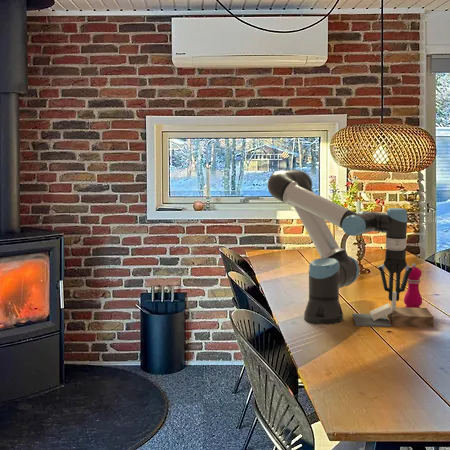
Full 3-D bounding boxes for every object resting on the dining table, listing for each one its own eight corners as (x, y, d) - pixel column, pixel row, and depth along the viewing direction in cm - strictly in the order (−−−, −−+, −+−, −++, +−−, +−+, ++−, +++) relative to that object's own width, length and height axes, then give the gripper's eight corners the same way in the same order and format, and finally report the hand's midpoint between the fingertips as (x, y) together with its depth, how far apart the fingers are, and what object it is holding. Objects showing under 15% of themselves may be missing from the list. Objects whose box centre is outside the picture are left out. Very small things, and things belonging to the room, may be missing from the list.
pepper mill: (424, 313, 242) (425, 265, 240) (406, 313, 242) (407, 265, 240) (418, 309, 249) (420, 261, 247) (401, 309, 250) (402, 261, 247)
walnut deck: (392, 326, 225) (392, 315, 225) (387, 316, 238) (387, 307, 238) (433, 327, 223) (433, 316, 223) (426, 317, 236) (426, 307, 236)
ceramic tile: (373, 320, 230) (371, 315, 229) (371, 317, 235) (369, 311, 235) (393, 312, 228) (390, 306, 228) (390, 308, 234) (388, 303, 234)
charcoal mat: (355, 326, 226) (355, 323, 226) (352, 315, 241) (352, 313, 241) (391, 326, 224) (391, 324, 224) (385, 316, 239) (385, 314, 239)
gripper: (379, 250, 225) (377, 310, 228) (415, 250, 224) (412, 312, 227) (376, 246, 233) (374, 305, 236) (411, 247, 231) (408, 306, 234)
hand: (393, 308), depth 231 cm, fingers closed
